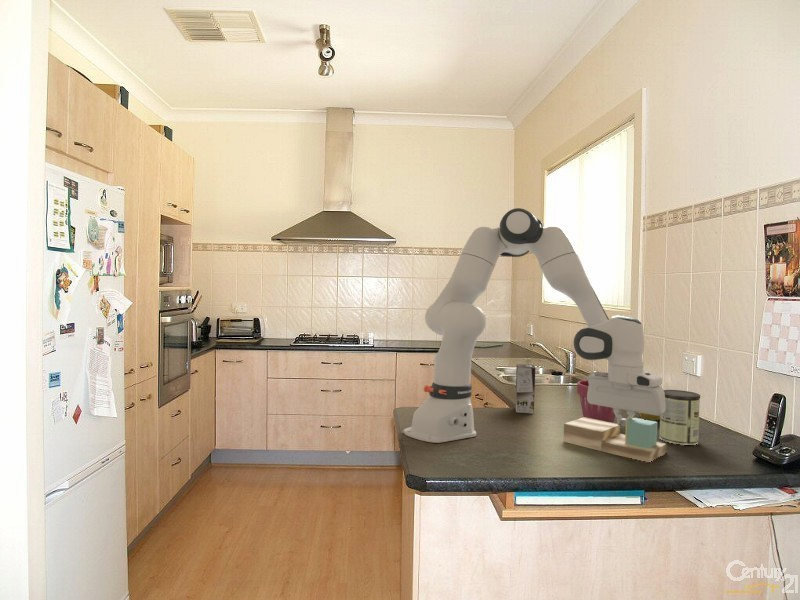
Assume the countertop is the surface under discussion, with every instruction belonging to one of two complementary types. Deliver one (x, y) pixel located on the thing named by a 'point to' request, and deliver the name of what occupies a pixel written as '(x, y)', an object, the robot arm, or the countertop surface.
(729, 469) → the countertop surface
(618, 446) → the stair
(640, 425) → the teal cube
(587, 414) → the plant pot
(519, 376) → the coffee box
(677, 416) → the coffee can
